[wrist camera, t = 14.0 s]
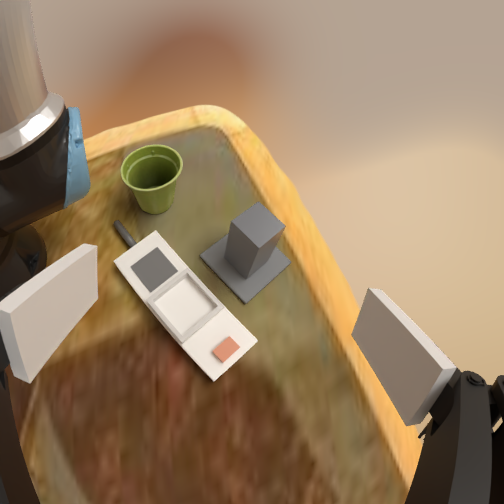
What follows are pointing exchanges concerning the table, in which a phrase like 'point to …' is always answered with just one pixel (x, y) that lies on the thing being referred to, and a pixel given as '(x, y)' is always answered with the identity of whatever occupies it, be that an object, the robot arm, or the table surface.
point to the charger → (252, 239)
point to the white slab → (183, 304)
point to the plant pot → (152, 176)
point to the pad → (235, 279)
